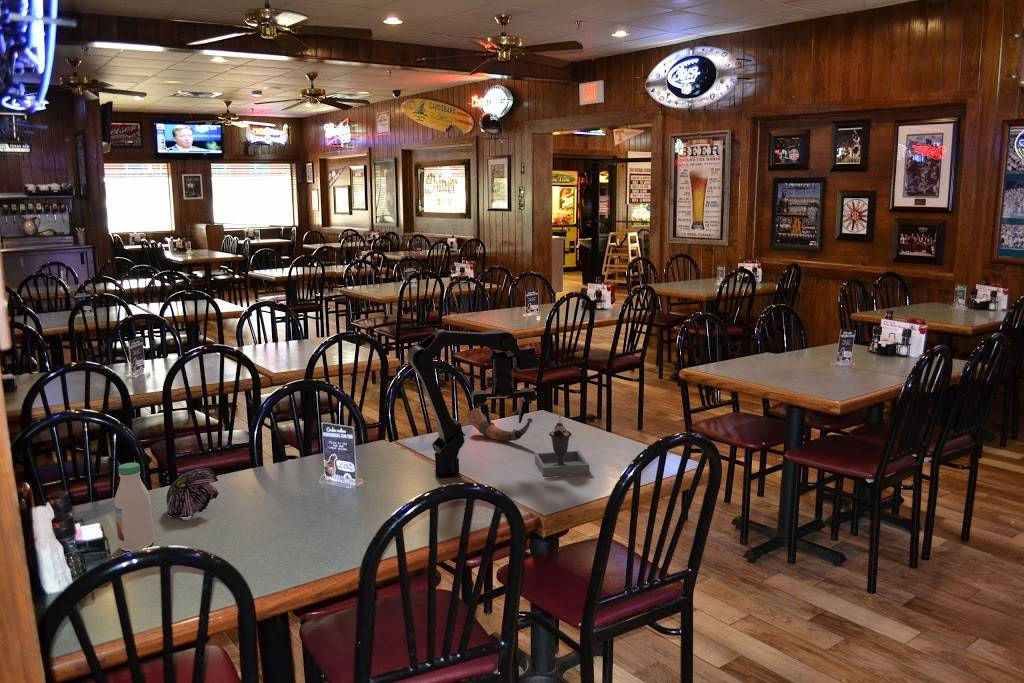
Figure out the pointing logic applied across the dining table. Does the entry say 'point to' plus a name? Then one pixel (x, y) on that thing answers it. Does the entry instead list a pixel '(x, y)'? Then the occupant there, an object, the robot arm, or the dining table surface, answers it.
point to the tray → (573, 467)
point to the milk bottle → (133, 509)
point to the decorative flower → (191, 492)
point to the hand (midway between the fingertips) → (504, 423)
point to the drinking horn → (494, 427)
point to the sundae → (560, 441)
